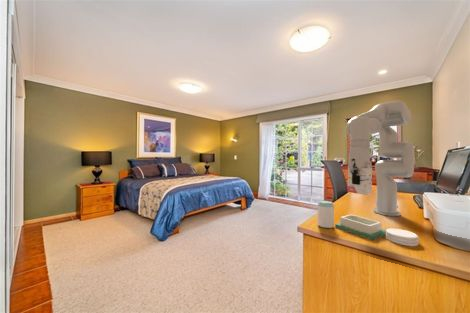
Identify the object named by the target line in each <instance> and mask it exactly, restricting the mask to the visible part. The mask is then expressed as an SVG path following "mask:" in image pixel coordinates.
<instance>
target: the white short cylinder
mask: <svg viewBox="0 0 470 313" xmlns="http://www.w3.org/2000/svg"><path fill="white" fill-rule="evenodd" d="M385 230H386V235H385V238H386V239H387V240H388V241H389V242H392V243H394V244H397V245H401V246H406V247H417V246H418V245H419V235H417V234H416V233H414V232H412V231H410V230H406V229H403V228H402V229H401V228H393V227H392V228H391V227H390V228H387V229H385Z"/></svg>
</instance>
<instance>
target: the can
mask: <svg viewBox="0 0 470 313" xmlns="http://www.w3.org/2000/svg"><path fill="white" fill-rule="evenodd" d="M317 225H318V226H319V227H320V228H322V227H323V228H322V229H327V228H330V229H332V228H334V227H335V206H334V204H333V201H330V200H319V202H318V203H317Z"/></svg>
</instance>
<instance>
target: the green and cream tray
mask: <svg viewBox="0 0 470 313" xmlns="http://www.w3.org/2000/svg"><path fill="white" fill-rule="evenodd" d="M334 227H335V228H336V229H340V230H342V231H345V232H348V233H351V234H354V235H358V236H360V237H362V238H365V239H368V240H371V241H373V240H376V239H379V238H381V237H383V236H386V230H387V229H382V222H381V221H378V220H373V219H370V218H366V217H362V216H360V215H354V214H348V215H343V216H340V218H339V222H338V223H334Z"/></svg>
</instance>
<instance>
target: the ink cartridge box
mask: <svg viewBox="0 0 470 313" xmlns="http://www.w3.org/2000/svg"><path fill="white" fill-rule="evenodd" d="M372 163H373V162H372V161H371V160H370V161H368V166H367V168H362V169H360V172H359V176H360V185H357V184H352V175H351V171H350V169H349V167H347V193H353V194H357V195H363V196H365V195H366V196H368V195H371V194H372V193H373V168H372ZM355 168H356V167H355ZM356 172H357V170H356Z"/></svg>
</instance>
